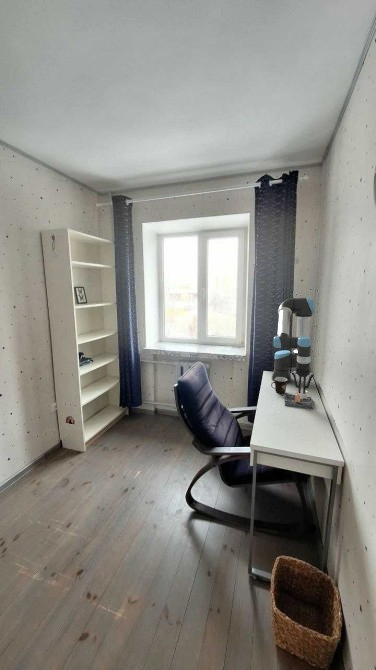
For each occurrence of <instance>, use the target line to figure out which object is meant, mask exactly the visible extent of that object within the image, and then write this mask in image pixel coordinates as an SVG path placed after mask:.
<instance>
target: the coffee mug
mask: <svg viewBox="0 0 376 670" xmlns="http://www.w3.org/2000/svg"><path fill="white" fill-rule="evenodd" d="M273 384H274V387H273ZM270 386H271V387H272V389H274V390H275V393H276V394H278V395H286V389H287V386H288V383H287V379H286V378H284V377H276V378H275V381H273V382H271V384H270Z"/></svg>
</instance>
